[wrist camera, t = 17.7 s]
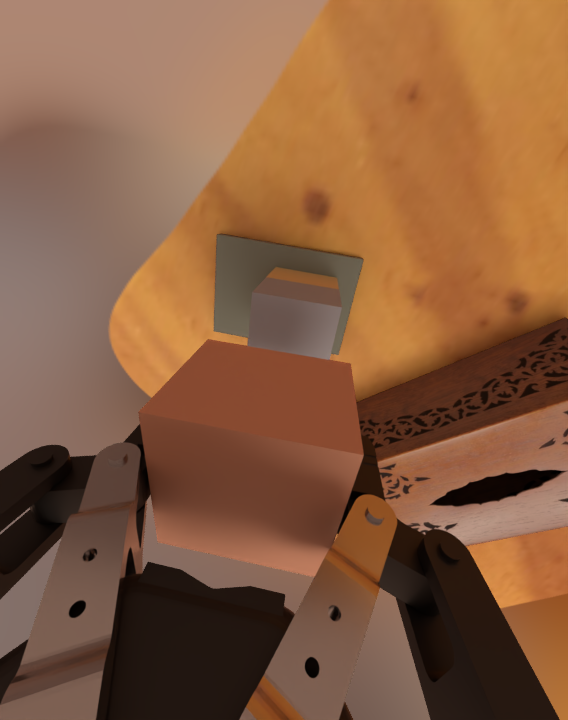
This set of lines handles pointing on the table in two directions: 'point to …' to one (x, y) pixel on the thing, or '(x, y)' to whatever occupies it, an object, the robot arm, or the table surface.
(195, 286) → the table surface
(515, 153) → the table surface
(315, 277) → the ochre block
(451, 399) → the tissue box cover
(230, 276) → the felt mat
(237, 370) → the terracotta block
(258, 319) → the slate block
